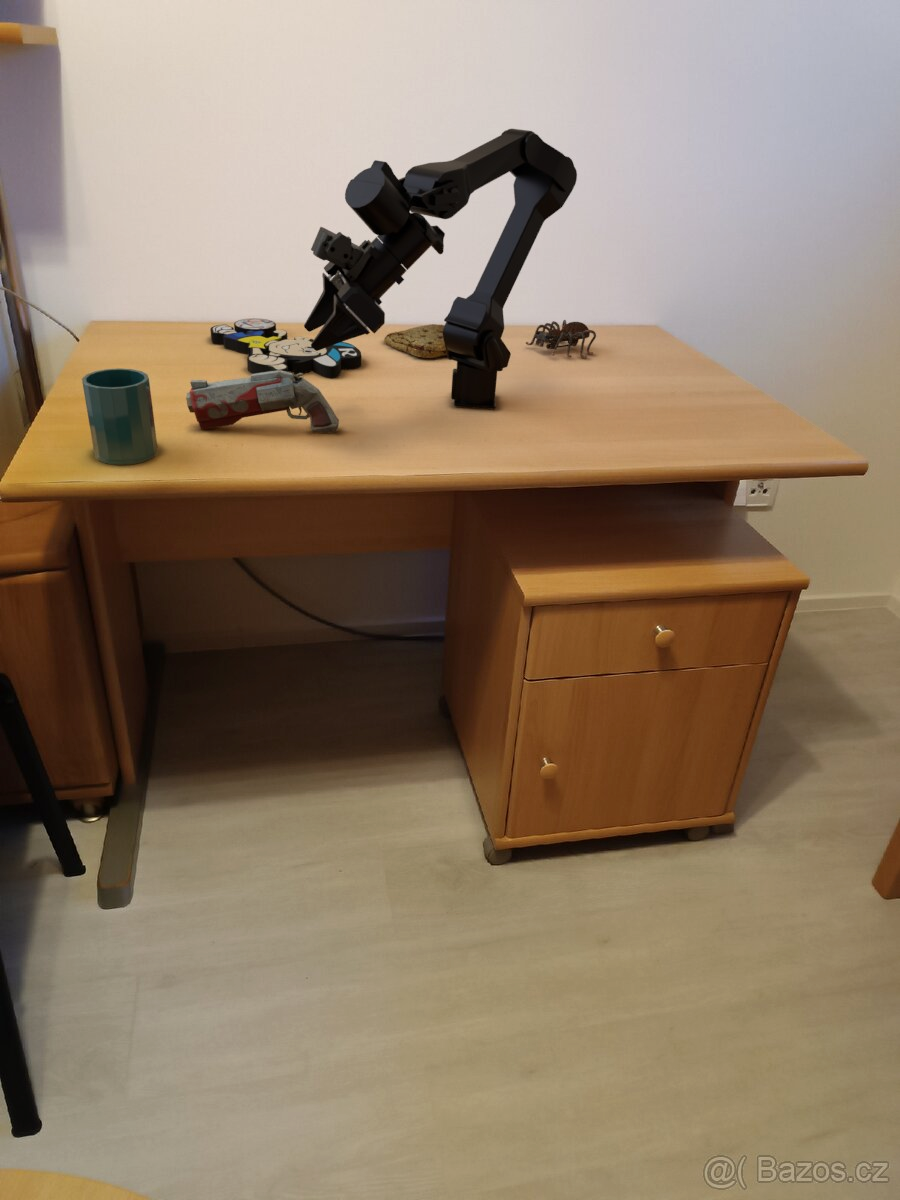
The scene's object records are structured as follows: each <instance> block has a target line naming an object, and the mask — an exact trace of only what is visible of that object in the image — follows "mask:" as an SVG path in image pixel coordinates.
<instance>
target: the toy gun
mask: <svg viewBox="0 0 900 1200" xmlns="http://www.w3.org/2000/svg"><path fill="white" fill-rule="evenodd" d="M302 376H304V373H299V374H294V372H293V373H292V372H291V371H288V372H286V371H282V370H277V371H270V372H263V373H256V374H253V373H251V375H250V376H249V377H242V378H241V377H240V378H234V379H226V380H219V381H218V380H217V381H213V382H208V380H207V379H191V380H190V386H191V388H190V390H189V391H188V392H186V395H185V399H186V405H187V409H188V412H189V413H192V414H194V416H195V419H196V422H198V423H197V424H198V425H199V429H200V430H201V431H203V430H208V429H216V428H220V427H226V426H232V425H234V424H236V423H238V422H239V421H241V420H242V419H244V418H248V417H255V416H260V415H265V414H267V415H268V414H272V413H277V412H283V411H284V412H285V411H286V413H287V416H288V417H289V418H290V419H293V420H308V419H309V421H310V430H311V432H313V433H314V434H315V433H316V434H335V433H337V430H338V428H339V424H340V419H339V417H338V416H337V414H336V413H335V411H334V410H333V407H332V406H331V405H330V404H329V402H328V401H327V399H326V398H325V396H324V395H323V394H322V392H321V390H320V389H319V388H318V387H317V386H315V385H314V384H313V383H311V382H309V381H308V380H307V379H305V378H304V377H302ZM295 409H298V410H299V413H298V414H293V413H292V411H291V410H295ZM302 410H303V411H304V412H305V413H306V414H305V415H302Z"/></svg>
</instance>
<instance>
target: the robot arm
mask: <svg viewBox="0 0 900 1200" xmlns="http://www.w3.org/2000/svg"><path fill="white" fill-rule="evenodd" d="M500 134H501V135H498V136H496V137H495V138H493V139H490V140H489V141H487V142H485V143H483V144H481V145H479V146H477V147H474V149H471V150H470V151H469V150H468V151H467V152H466V153H464V154H461V155H460V156H458V157H456V158H454V159H453V160H452V159H451V160H447V161H435V162H434V161H433V162H428V163H423V164H418V165H414V166H412V167H411V168H409V169H408V171H406V173H405V175H404V177H401V178H398V177H397V176H396V174H395V172H394V171H393V169H392V167H391V166H390V164H389V163H388V162H387V161H383V160H378V159H377V160H376V159H375V160H373V162H372V164H371V166H370V167H368V168H365V169H363V170H361V171H360V172H359V173H358V174H356V176H355V177H354V178H352V179H350V180H349V182H348V183H347V186H346V189H345V193H344V199H345V202H346V204H347V205H348V207H350V209H351V210H352V211H353V212H354V213H355V214H356V215H357V216H358V218H359V219H360V220H361V221H362V222H363V223H364V225H366V226H367V227H368V229H369V230H370V231H371V232H372V233H373V234H374V235H377V236H375V238H374V239H373V240H372V241H370V240H369V239H367V240H366V239H364V241H362V242H361V243H360V244H359V245H358V244H355V243H354V242H352V238H351V237H350V236H347V235H345V234H343V233H342V232H341V231H338V232H337V233H335V232H333V231H331V230H329V229H327V228H325V227H323V226H320V227H319V229H318V232H317V234H316V236H315V239H314V241H313V243H312V246H311V248H310V250H311V251H312V254H313V256H315V257H316V258H318V259H319V260H321V261H327V264H326V265H324V266H323V269H324V271H325V273H326V274H325V273H324V272H322V274H321V275H322V292H321V294H320V296H319V298H318V300H317V302H316V303H315V305H314V306H313V309H312V310H311V312H310V314H309V315H308V317H307V319H306V321H305V323H304V325H303V327H304V329H305V330H306V331H307V332H308V333H310V332H312V331H314V330H317V329H318V328H320V327H321V329H320V330H319V331H318V333H317V335H316V336H315V337H314V339H313V342H312V343H311V347H312V348H313V349H314V350H316V351H319V350H321V349H324V348H327V347H329V346H332V345H335V344H337V343H340V342H345V341H348V340H351V339H355V338H357V337H361V336H364V335H369V334H370V333H371V332H372V333H373V334H376V333H377V332H378V331H379V330H380V329H381V328H382V327H383V326H384V325H385V321H386V313H385V311H384V310H383V308H382V306H381V304H382V303H383V301H382V300H381V298H382V297H383V296H384V295H385V294H386V293H387V292H388V291H389V290H390V289H391V288H392V287H393V286H394V284H395V283H396V284H397V285H398V286H400V285H401V284H402V283H403V282H404V281H405V279H404V277H403V275H404V274H406V273H407V271H409V269H410V268H411V267H413V265H414V264H415V263H416V262H417V261H418V260H419V259H420V258H421V257H422V256H423V255H424V254H425V253H426V252H427V251H428V250H429V249H430V248H431V247H432V248H433V250H435V252H436V253H437V254H438V255H443V253H444V249H445V248H444V247H445V245H444V239H445V236H446V233H445V231H444V230H442V229H441V228H440V227H439V225H431V223H430V222H429V221H428V220H427V219H426V218H425V217H424V216H427V217H432V218H437V219H441V220H448V219H452V218H453V217H454V216H455V215H456V214H458V213H459V212H461V210H462V209H463V208H465V207H466V206H467V205H468V203H469V200H470V197H471V195H472V194H473V193H474V192H475V191H477V190H478V189H481V188H482V187H484V186H486V185H488V184H490V183H492V182H494V181H496V180H497V179H499V178H501V177H502V176H504V175H506V174H508V173H510V174H511V175H512V176H513V177H514V178H515V179H514V182H513V195H514V206H513V208H512V210H511V213H510V215H509V216H508V219H507V221H506V223H505V225H504V227H503V229H502V232H501V234H500V236H499V238H498V240H497V242H496V244H495V246H494V248H493V251H492V253H491V255H490V257H489V259H488V261H487V263H486V265H485V268H484V270H483V272H482V274H481V276H480V278H479V280H478V282H477V285H476V287H475V289H474V290H473V293H471V294H470V295H468V296H467V297H466V298H465V297H461V296H457V297H456V298H455V299H454V300H453V301H452V305H451V306H450V307H451V308H450V311H449V312H448V314H447V315H446V316H445V318H444V320H443V321H444V322H445V323H444V325H445V326H444V329H443V333H442V334H443V338H444V343H445V348H446V353H447V355H446V357H447V360H450V361H451V360H452V361H454V362H456V368H453V369H452V376H451V377H452V378H451V392H450V393H451V394H450V395H451V396H450V398H451V400H453V406H454V407H457V408H471V409H472V408H473V409H492V410H495V409H496V407H497V406H496V405H497V404H496V391H497V378H498V372H502V371H503V370H504V369H505V368H507V367H508V366H509V362H510V359H511V354H512V353H511V352H510V350H509V349H508V347H507V345H506V344H505V342H504V341H503V340H502V337H503V333H504V331H505V320H504V319H505V318H504V307H505V304H506V302H507V300H508V298H509V296H510V294H511V292H512V290H513V288H514V285H515V283H516V282H517V280H518V277H519V275H520V273H521V271H522V269H523V267H524V265H525V262H526V260H527V258H528V256H529V254H530V252H531V251H532V248H533V245H534V243H535V242H536V240H537V237H538V235H539V233H540V231H541V229H542V226H543V224H544V223H545V221H546V220H547V219H549V218H550V217H551V216H553V215H554V214H555V213H556V212H558V211H560V209H562V208H563V207H564V205H565V204H566V202H567V200H568V199H569V198H570V197H569V196H570V195H571V194H572V192H573V190H574V187H575V186H576V183H577V181H578V172H577V169H576V167H575V164H574V161H573V159H572V158H571V157H570V156H568V155H567V156H566V155H565V154H564V153H563V152H561V151H560V150H558V149H556V148H555V147H553V146H552V145H550V144H548V143H546V142H545V141H544V140H543V138H542V137H540V136H539V134H537V133H536V132H534V131H532V130H527V129H520V128H508V129H506V130H504V131H503V132H502V133H500ZM370 331H371V332H370Z"/></svg>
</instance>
